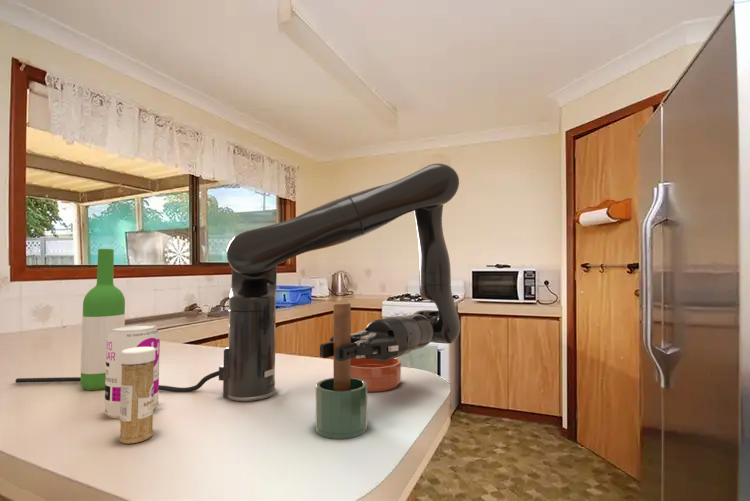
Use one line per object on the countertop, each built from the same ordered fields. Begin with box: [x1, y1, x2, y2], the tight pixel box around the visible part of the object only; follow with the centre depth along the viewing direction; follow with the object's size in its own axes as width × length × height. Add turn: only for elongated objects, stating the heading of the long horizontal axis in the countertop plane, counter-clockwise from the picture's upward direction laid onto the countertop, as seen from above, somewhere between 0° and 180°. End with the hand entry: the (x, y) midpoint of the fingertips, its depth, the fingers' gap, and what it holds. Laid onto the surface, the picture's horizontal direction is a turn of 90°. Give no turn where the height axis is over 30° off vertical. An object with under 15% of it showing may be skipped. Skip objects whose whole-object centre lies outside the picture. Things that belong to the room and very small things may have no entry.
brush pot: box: [315, 377, 368, 440], centre depth 64 cm, size 8×8×7 cm
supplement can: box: [104, 324, 161, 420], centre depth 71 cm, size 8×8×15 cm
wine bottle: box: [80, 248, 126, 391], centre depth 87 cm, size 8×8×30 cm
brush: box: [332, 302, 352, 391], centre depth 64 cm, size 5×5×18 cm
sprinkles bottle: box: [118, 347, 155, 445], centre depth 60 cm, size 5×5×13 cm
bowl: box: [351, 357, 402, 393], centre depth 88 cm, size 13×13×5 cm
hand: (329, 352), depth 62 cm, fingers closed on brush, 3 cm apart
